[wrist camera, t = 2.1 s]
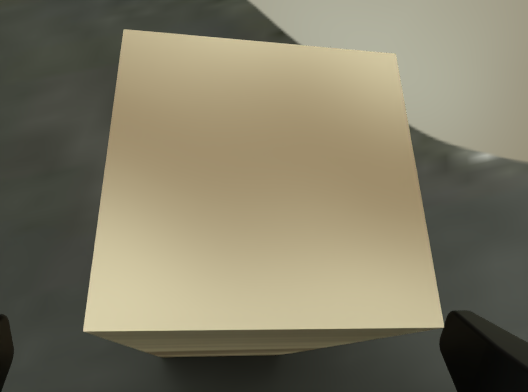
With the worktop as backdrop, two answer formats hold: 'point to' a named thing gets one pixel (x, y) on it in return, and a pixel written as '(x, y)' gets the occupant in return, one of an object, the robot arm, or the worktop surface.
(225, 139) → the pine post
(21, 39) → the worktop surface
